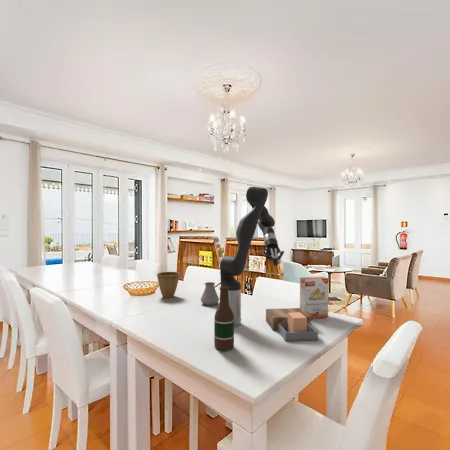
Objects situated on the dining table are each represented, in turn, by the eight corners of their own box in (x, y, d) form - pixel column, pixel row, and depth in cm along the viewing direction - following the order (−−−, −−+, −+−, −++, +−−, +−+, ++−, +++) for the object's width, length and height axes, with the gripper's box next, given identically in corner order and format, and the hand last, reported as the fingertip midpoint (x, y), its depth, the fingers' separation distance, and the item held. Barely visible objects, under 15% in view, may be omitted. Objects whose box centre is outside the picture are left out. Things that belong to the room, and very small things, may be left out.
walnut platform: (273, 330, 131) (273, 317, 131) (265, 320, 145) (265, 309, 145) (310, 329, 133) (310, 316, 133) (300, 319, 147) (300, 308, 147)
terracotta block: (287, 330, 130) (293, 337, 122) (287, 312, 130) (293, 318, 122) (300, 329, 131) (306, 336, 123) (300, 312, 131) (306, 317, 123)
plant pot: (155, 295, 198) (155, 272, 199) (175, 293, 205) (175, 271, 205) (159, 300, 185) (159, 275, 185) (181, 298, 191) (181, 274, 191)
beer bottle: (233, 343, 117) (233, 284, 117) (234, 351, 109) (234, 288, 109) (214, 343, 117) (214, 284, 117) (214, 351, 109) (214, 288, 109)
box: (285, 341, 119) (285, 333, 119) (277, 331, 131) (277, 323, 131) (317, 340, 120) (317, 331, 120) (307, 330, 132) (307, 322, 132)
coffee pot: (206, 307, 169) (206, 282, 169) (197, 303, 178) (197, 279, 178) (235, 302, 181) (235, 278, 181) (225, 298, 191) (225, 276, 191)
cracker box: (305, 319, 147) (305, 279, 147) (299, 316, 152) (299, 277, 153) (329, 317, 150) (328, 277, 151) (322, 314, 156) (322, 276, 156)
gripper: (260, 237, 168) (265, 261, 155) (282, 237, 169) (289, 260, 157) (258, 246, 173) (263, 269, 161) (280, 246, 174) (286, 269, 162)
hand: (276, 265), depth 159 cm, fingers closed
